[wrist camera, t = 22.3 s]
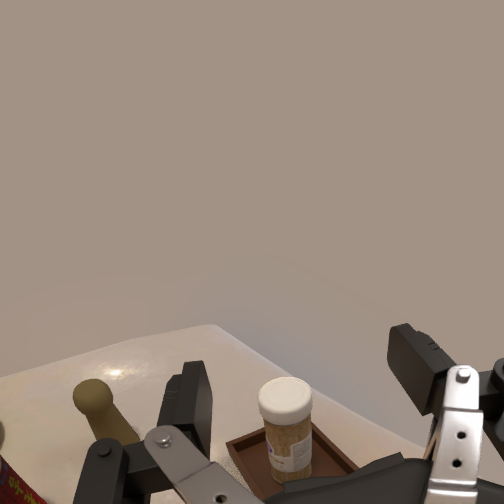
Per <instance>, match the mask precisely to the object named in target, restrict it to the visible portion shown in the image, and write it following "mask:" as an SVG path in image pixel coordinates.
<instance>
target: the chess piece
mask: <svg viewBox="0 0 504 504" xmlns="http://www.w3.org/2000/svg"><path fill="white" fill-rule="evenodd" d="M73 400H74V404H75V406H76V407H77V409H78V410H79V411H80V412H81V413H82V414H84V415H86V418H87V420H88V422H89V424H90V427H91V429H92V431H93V433H94V435H95V438H96V440H100V439H103V438H113V439H116V440H117V441H119V442H120V443H121V445H122V446H124V445H128V444H133V443H137V442H140V438H139V436H138V435H137V433H136V432H135V431H134V430H133V429H132V427H131V426H130V425H129V423H128V422H127V421H126V420H125V418H124V417H123V416H122V414H121V413H120V412H119V410H118V409H117V408H116V406H115V405H114V404H113V395H112V392H111V390H110V388H109V386H108V385H107V384H106V383H104V382H103V381H101V380H99V379H89V380H85V381H83V382H81V383H80V384H78V385H77V386H76V387H75V389H74V391H73Z"/></svg>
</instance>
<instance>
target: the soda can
mask: <svg viewBox="0 0 504 504" xmlns="http://www.w3.org/2000/svg"><path fill="white" fill-rule="evenodd" d="M0 504H47V503H46V502H45V501H44V500H43V499H42V498H41V497H40V496H39V495H38V494H37V493H36V492H35V491H34V490H33V489H32V488H30V487H29V486H28V485H27V484H26V483H25V482H24V480H23V479H22V478H21V477H20V476H19V475H18V474H17V473H16V472H15V471H14V470H13V469H12V468H11V467H10V466H9V464H8V463H7V462H6V461H5V460H4V459H3V457H2V456H1V455H0Z"/></svg>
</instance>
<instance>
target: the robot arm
mask: <svg viewBox="0 0 504 504" xmlns="http://www.w3.org/2000/svg"><path fill="white" fill-rule="evenodd" d="M387 361H388V365H389V367H390V369H391V371H392V372H393V374H394V375H395V376H396V378H397V379H398V381H399V382H400V384H401V385H402V387H403V388H404V390H405V391H406V393H407V394H408V396H409V397H410V398H411V400H412V401H413V403H414V404H415V406H416V407H417V409H418V410H419V412H420V413H421V415H422V416H425V415H427V414H429V413H433V415H434V417H433V420H432V424H431V429H430V433H429V437H428V441H427V445H426V449H425V453H424V456H423V459H420V458H406V459H404V458H403V456H402V454H401V452H399V453H396V454H393V455H390V456H387V457H384V458H381V459H378V460H375V461H373V462H371V463H369V464H367V465H366V466H364V467H362V468H360V469H358V470H356V471H354V472H352V473H350V474H348V475H345V476H325V477H309V478H304V479H299V480H293V481H287V482H282V484H283V490H281V491H278V492H276V493H274V494H272V495H270V496H268V497H267V498H265V499H263V500H262V501H261V500H260V499H258V498H257V497H256V496H255V495H254V494H252V493H251V492H250V491H249V490H248V489H246V488H245V487H244V486H243V485H242V484H241V483H239V482H238V481H237V480H236V479H235V478H234V477H233V476H231V475H230V474H229V473H228V472H227V471H226V470H225V469H224V468H223V467H222V466H220V465H219V464H218V463H217V462H215V461H214V462H210V442H211V421H212V403H213V399H212V391H211V387H210V383H209V380H208V376H207V373H206V369H205V365H204V362H203V361H202V360H201V361H191V362H184V366H183V371H182V374H178V375H173V376H172V378H171V379H170V380H169V381H168V382H167V385H166V389H165V394H164V397H163V401H162V406H161V410H160V414H159V418H158V422H157V427H156V428H154V429H152V430H151V431H149V432H148V433H147V435H146V436H145V439H144V440H143V441H141V442H137V443H133V444H128V445H124V446H122V445H121V443H120V442H119V441H117V440H116V439H113V438H103V439H100V440H97V441H96V442H94V443H93V444H92V445H91V446H90V448H89V450H88V452H87V456H86V459H85V462H84V465H83V469H82V472H81V475H80V479H79V482H78V486H77V489H76V493H75V497H74V500H73V504H150V498H151V494H152V493H156V492H161V491H165V490H169V489H173V490H174V491H175V492H176V493H177V494H178V496H179V497H180V498H181V499H182V500H183V502H184V503H185V504H504V486H502V485H498V484H495V483H492V482H489V481H486V480H482V479H479V478H477V475H478V468H479V461H480V452H481V441H482V429H483V430H484V432H485V433H486V434H487V436H488V438H489V439H490V441H491V442H492V444H493V445H494V447H495V448H496V450H497V451H498V453H499V454H500V456H501V458H502V459H503V461H504V358H501V359H499V360H497V361H496V362H495V364H494V367H493V370H491V371H485V372H477V371H476V369H474V368H473V367H471V366H468V365H457V364H456V363H455V362H454V361H453V360H452V359H451V358H450V357H449V356H448V355H447V354H446V353H445V352H444V351H443V350H442V349H440V347H439V346H438V345H437V344H436V343H435V341H433V339H432V338H430V336H429V335H427V334H424V333H422V332H420V331H417V332H416V331H415V330H414V329H413V328H412V327H411V326H410V325H409V324H408V323H405V324H401V325H398V326H394V327H391V329H390V333H389V345H388V352H387Z"/></svg>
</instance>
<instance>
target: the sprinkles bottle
mask: <svg viewBox="0 0 504 504" xmlns="http://www.w3.org/2000/svg"><path fill="white" fill-rule="evenodd" d="M258 405H259V410H260V414H261V415H262V417H263V420H264V426H265V431H266V441H267V446H268V453H269V459H270V462H271V474H272V477H273V479H274V480H275V481H276V482H278V483H280V484H282V482H287V481H293V480H299V479H304V478H309V477H310V475H311V472H312V466H311V456H312V428H311V410H312V391H311V388H310V386H309V385H308V384H307V383H306V382H304V381H303V380H301V379H298V378H294V377H280V378H276V379H273V380H271V381H269V382H267V383H266V384H265V385H263V386H262V387H261V389H260V391H259V393H258ZM282 485H283V484H282Z"/></svg>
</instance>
